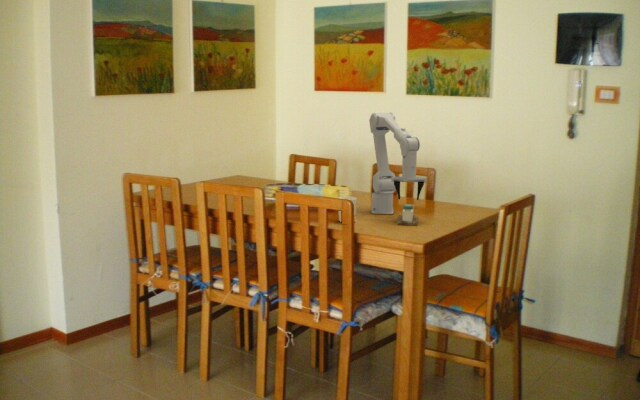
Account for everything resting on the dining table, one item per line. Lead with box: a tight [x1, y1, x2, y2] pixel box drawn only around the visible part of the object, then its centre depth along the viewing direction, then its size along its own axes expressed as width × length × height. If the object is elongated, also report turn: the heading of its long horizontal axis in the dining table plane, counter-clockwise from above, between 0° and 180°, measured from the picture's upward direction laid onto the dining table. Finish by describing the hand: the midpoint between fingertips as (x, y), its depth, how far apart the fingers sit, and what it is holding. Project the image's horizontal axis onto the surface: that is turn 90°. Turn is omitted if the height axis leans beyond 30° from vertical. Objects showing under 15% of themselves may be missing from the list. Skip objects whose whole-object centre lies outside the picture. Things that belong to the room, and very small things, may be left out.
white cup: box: [337, 196, 358, 223], centre depth 286 cm, size 8×8×10 cm
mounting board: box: [396, 214, 419, 227], centre depth 288 cm, size 8×16×2 cm, turn 171°
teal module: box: [402, 203, 414, 209], centre depth 287 cm, size 4×4×5 cm
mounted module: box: [402, 209, 414, 221], centre depth 282 cm, size 4×4×4 cm
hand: (408, 199), depth 286 cm, fingers open, 7 cm apart
